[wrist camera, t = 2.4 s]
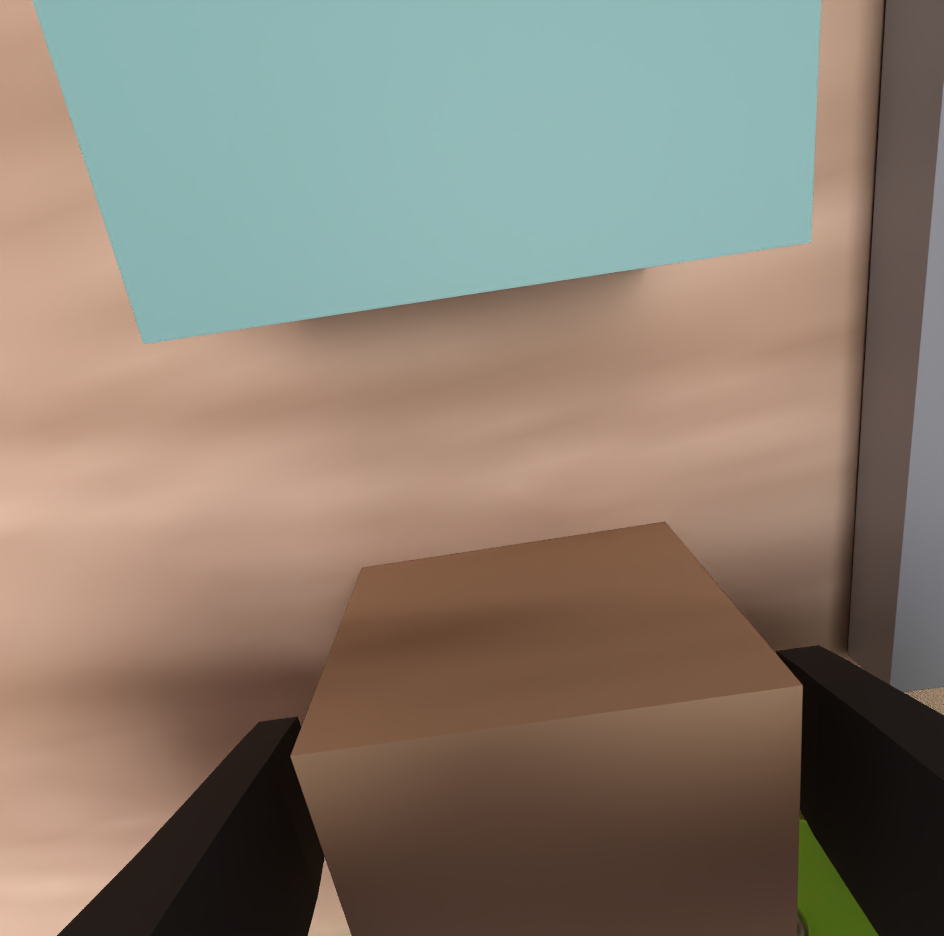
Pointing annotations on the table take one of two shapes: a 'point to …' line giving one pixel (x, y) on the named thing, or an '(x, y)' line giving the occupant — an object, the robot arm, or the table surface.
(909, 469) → the baseplate
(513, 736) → the walnut block
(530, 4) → the teal block
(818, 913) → the toy crocodile
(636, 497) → the table surface
